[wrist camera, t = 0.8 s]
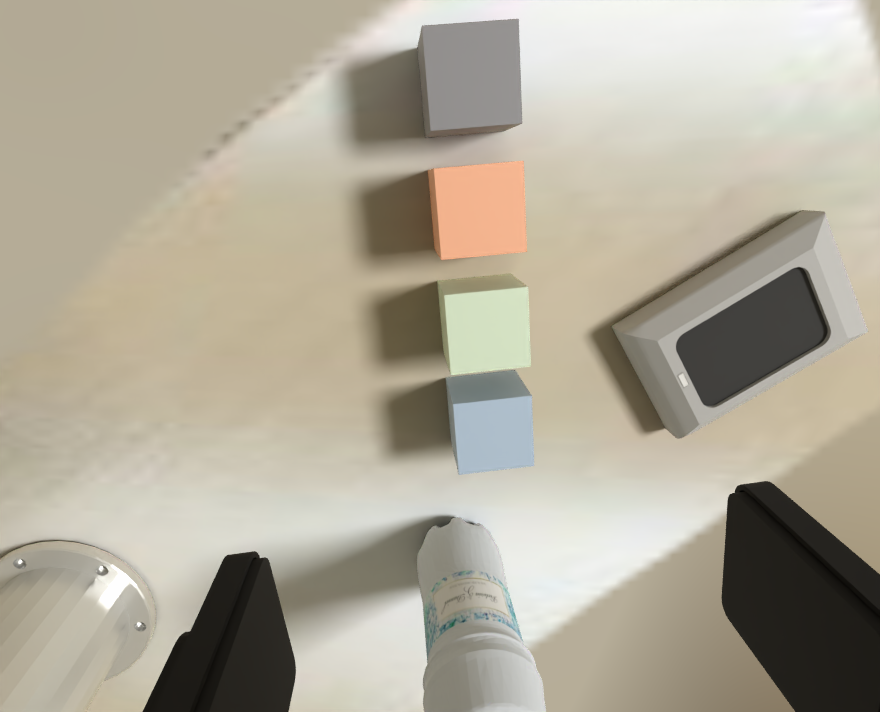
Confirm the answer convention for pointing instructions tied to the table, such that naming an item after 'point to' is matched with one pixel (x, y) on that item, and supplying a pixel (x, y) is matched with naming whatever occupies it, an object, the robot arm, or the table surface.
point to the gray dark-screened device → (743, 324)
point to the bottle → (472, 627)
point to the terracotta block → (478, 210)
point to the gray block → (470, 77)
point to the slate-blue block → (490, 422)
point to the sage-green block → (484, 323)
